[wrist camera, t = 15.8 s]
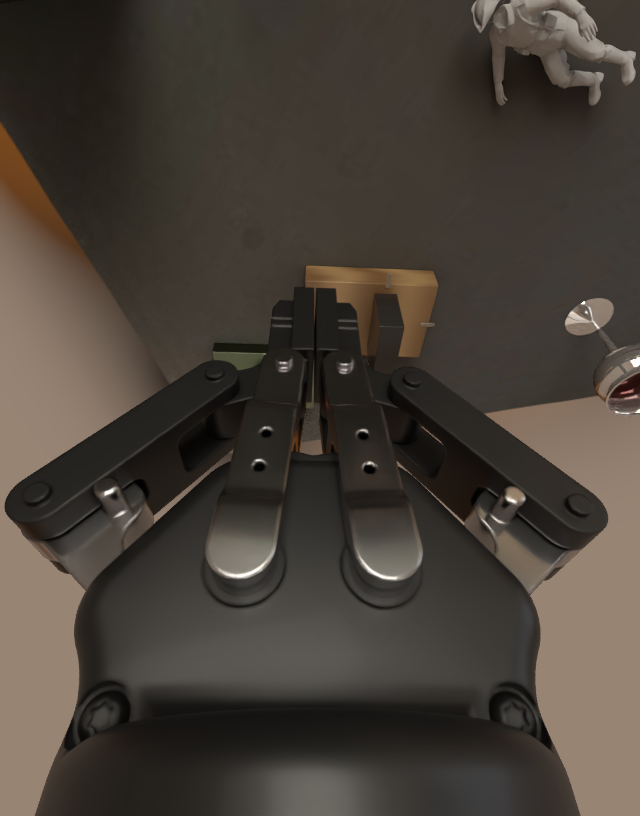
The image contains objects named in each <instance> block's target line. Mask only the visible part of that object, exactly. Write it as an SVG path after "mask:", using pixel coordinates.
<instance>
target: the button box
mask: <svg viewBox="0 0 640 816" xmlns="http://www.w3.org/2000/svg"><path fill="white" fill-rule="evenodd" d="M267 352H268V345H259V344H229V343H215V344H214V348H213V351H212V353H213V359H214V360H222V361H227V362H229V363H231V364H233V365H234V366H235V367H236V368H237V370H243V369H248V368H251V367H254V366H256V365H258V364H260V363H261V362H262V359H263V357H264V355H265V354H266V353H267ZM306 408H310V409H314V364H313V385H312V403H308V402H306Z"/></svg>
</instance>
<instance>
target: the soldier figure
mask: <svg viewBox="0 0 640 816" xmlns="http://www.w3.org/2000/svg"><path fill="white" fill-rule="evenodd" d="M504 1H505V0H504ZM498 2H499V0H477V1H476V2H475V3H474V5H473V7H472V10H471V11H472V13H473V17H474V23H475V26H476V28H477V29H478V30H479V32H480V33H481V32H482V31H483V29H484V27H485V26H486V24H487V22H488V21H489V19H490V18H491V16H492V14H493V12H494V10H495V7H496V5H497V3H498ZM551 8H556V9H557V10H558V11H547V12H545V11H546V10H548V9H551ZM585 10H586V8H585V7H584V6H582V5H581V4H580V3H578V1H577V0H511V1H510V3H509V4H504V5H501V6H500V7H499V8H498V10H497V11H496V12H495V14H494V18H493V22H494V25H492V27H491V29H490V31H489V37H490V41H491V45H492V46H491V47H492V64H493V78H494V84H495V93H496V99H497V102H498V104H499V105H503V103H504V104H505V101H504V100H503V98H504V99H505V100H506V101H507V98H506V97H505V96H504V92H503V86H502V80H503V78H504V64H505V47H506V46H511V47H513V48H514V50H515V51H517V53H519V54H522V55H528V56H529V53H531V54H535V55H537V56H539V57H540V59H541V61H542V63H543V66H544V69H545V72H546V73H547V75H548V77H549V79H550V80H551V82H552V84H554V85H558V86H559V87H562V88H564V89H565V88H567V87H572V86H589V104H590V106H593V105H595V104H596V103H597V102H598V100H599V98H600V96H601V91H600V88H599V86H600V82H602V80H603V76H604V75H603V73H600V72H594V74H593V73H591V72H583V71H576V70H571V71H569V64H568V63H566V62H567V55H566V52H565V51H567V52H570V53H571V54H573V55H575V56H577V57H579V58H581V59H584V60H588V61H590V62H596V63H600V62H602V61H605V62H611V63H616V64H620V67H621V76H622V82H623V84H624V85H625V86H627V85H629V84H630V83H631V82H632V81H633V79H634V77H635V70H634V67H633V61H634V59H635V52H632V51H626V52H624V51H621V50H619V49H617V48H615V47H614V46H612V45H604V43H603V42H601V41H599V40H598V39H596V38H595V36H596V33H595V31H596V32H597V31H598V29H597V27H596V24H595V22H594V20H593V19H592V18H591V17H590V16H589V15H588V14H587V13H586V11H585ZM568 16H569V17H568ZM570 17H571V18H570ZM572 18H573V19H572ZM574 19H575V20H574ZM488 23H489V22H488ZM590 29H591V31H592V33H593V35H592V33H591V31H590ZM594 29H595V30H594ZM502 97H503V98H502ZM501 101H502V102H503V103H502V102H501Z"/></svg>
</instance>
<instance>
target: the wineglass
mask: <svg viewBox="0 0 640 816" xmlns="http://www.w3.org/2000/svg"><path fill="white" fill-rule="evenodd" d="M613 311H614V308H613V304H612V303H611V302H610V301H609V300H607V299H604V298H595V299H590V300H587V301H585V302H583V303H581V304H579V305H578V306H577V307H575V308H574V309H573V310H572V311H571V312H570V313H569V315H568V317H567V318H566V322H565V327H566V330H567V331H568V332H569V333H571V334H574V335H586V334H590V333H592V332H595V331H596V332H597V334H598V335H599V337H600V338H601V340H602V341H603V343H604V344H605V346H606V348H607V349H608V351H609V352H610V353H608V354H607V355H606V356H605V357H604V358H603V359H602V360H601V362H600V363H599V365H598V366H597V368H596V369H595V371H594V375H593V384H594V388H595V391H596V394H597V395H598V396H599V397H600V398H601V399H602V400H603V401H604V402H605V404H606V408H607V410H608V411H609V412H610V413H612V414H614V415H618V416H627V417H631V416H637V415H640V344H633V345H626V346H622V347H619V348H617V347H616V346H615V345H614V344H613V343H612V341H611V340H610V339H609V338H608V337H607V336H606V334H605V333H604V332H603V331H602V330H601V329H600V328H601V327H603V326H604V325H605V324H606V323H607V322H608V321H609V320H610V318H611V317H612V314H613Z"/></svg>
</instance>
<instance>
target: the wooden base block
mask: <svg viewBox="0 0 640 816" xmlns="http://www.w3.org/2000/svg"><path fill="white" fill-rule="evenodd" d="M305 287H312V288H314V321H315V300H316V288H336V294H337V302H339V303H350V304H351V305H352V306H353V307H354V309H355V310H356V311H357V319H358V330H359V336H360V345H361V354H362V355H366V356H368V354H367V344H368V337H369V330H370V324H371V317H372V310H373V303H374V296H375V293H377V294H397V297H398V301H399V305H400V310H401V314H402V318H403V322H404V327H405V328H404V333H403V337H402V342H401V346H400V351H399V356H398V357H419V356H420V352H421V348H422V345H423V341H424V337H425V334H426V330H427V327H434V323H429V319H430V316H431V312H432V308H433V305H434V301H435V298H436V294H437V290H438V287H439V286H438V283H437V280H436V278H435V275H434V272H433V271H427V270H403V269H378V268H353V267H329V266H306V274H305Z"/></svg>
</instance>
